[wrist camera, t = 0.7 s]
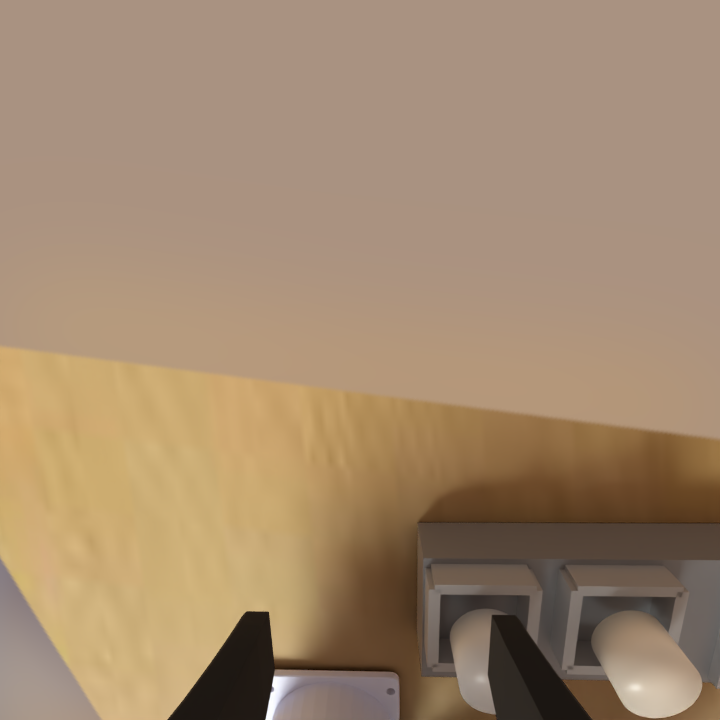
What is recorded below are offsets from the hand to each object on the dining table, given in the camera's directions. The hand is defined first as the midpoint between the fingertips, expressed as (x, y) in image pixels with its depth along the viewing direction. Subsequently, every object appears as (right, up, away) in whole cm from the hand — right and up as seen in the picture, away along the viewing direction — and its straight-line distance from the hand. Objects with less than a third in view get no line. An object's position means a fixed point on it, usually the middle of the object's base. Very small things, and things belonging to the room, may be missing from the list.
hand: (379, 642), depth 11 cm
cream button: (+11, -4, +6) cm, 13 cm away
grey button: (+5, -4, +6) cm, 9 cm away
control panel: (+12, -4, +10) cm, 16 cm away
